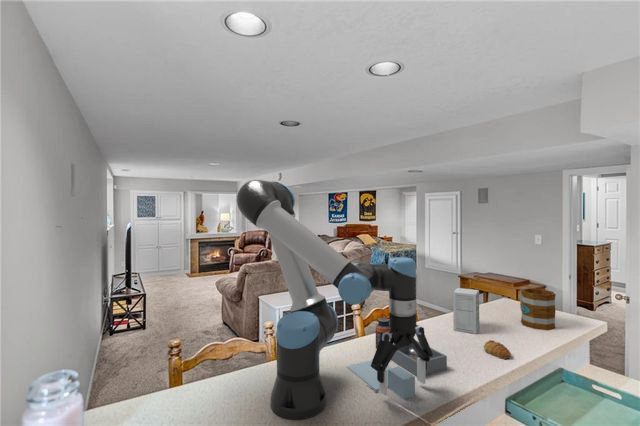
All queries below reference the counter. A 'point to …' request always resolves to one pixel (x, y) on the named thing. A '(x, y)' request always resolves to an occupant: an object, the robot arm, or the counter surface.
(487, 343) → the pastry
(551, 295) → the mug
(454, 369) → the counter surface
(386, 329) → the supplement bottle
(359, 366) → the lid
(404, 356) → the tub
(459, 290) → the supplement box
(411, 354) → the ball
